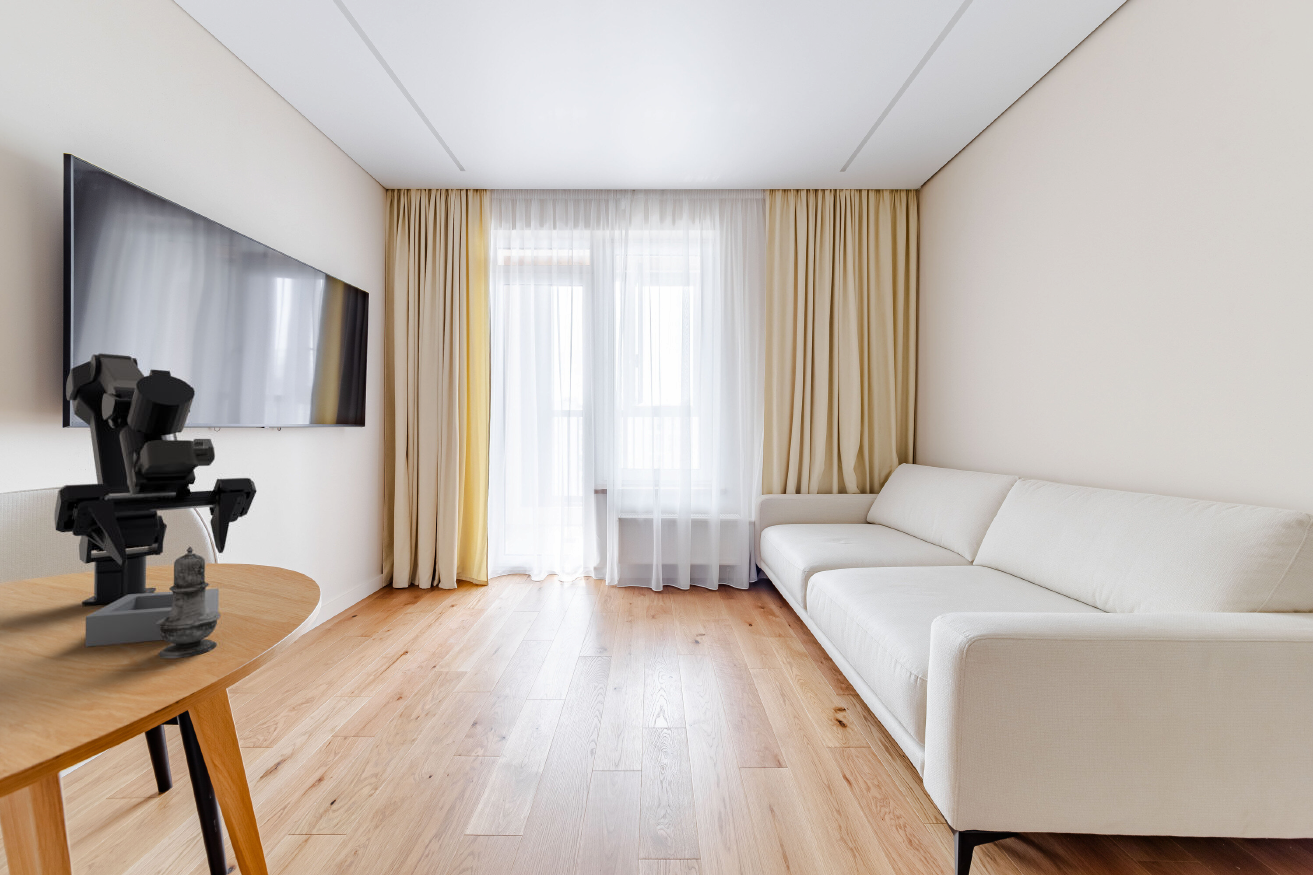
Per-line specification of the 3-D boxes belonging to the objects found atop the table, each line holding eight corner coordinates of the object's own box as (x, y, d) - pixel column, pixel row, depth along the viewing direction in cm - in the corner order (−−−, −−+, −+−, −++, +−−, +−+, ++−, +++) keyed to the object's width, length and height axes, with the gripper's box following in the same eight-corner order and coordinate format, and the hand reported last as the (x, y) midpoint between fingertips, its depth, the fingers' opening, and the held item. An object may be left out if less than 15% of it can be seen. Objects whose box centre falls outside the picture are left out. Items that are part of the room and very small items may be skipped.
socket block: (127, 620, 77) (128, 594, 77) (218, 613, 80) (218, 588, 80) (85, 646, 67) (85, 616, 67) (189, 637, 71) (190, 608, 71)
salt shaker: (183, 661, 64) (184, 552, 64) (141, 656, 65) (142, 549, 65) (232, 643, 69) (234, 543, 69) (193, 638, 71) (194, 540, 71)
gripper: (59, 414, 65) (74, 523, 58) (252, 419, 80) (282, 507, 73) (48, 478, 70) (61, 586, 63) (232, 472, 85) (258, 559, 78)
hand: (175, 556), depth 69 cm, fingers open, 9 cm apart
